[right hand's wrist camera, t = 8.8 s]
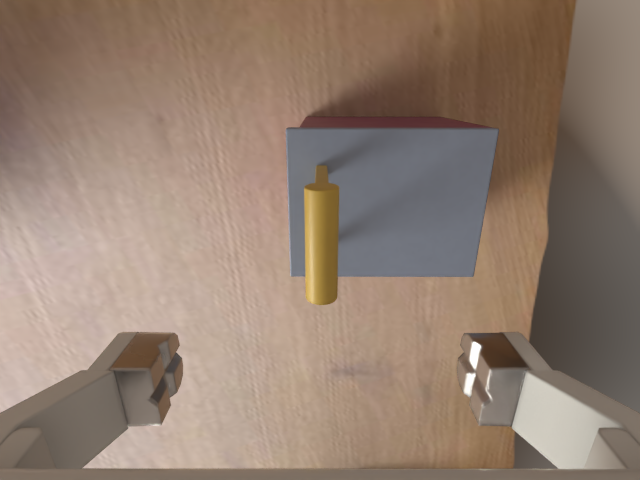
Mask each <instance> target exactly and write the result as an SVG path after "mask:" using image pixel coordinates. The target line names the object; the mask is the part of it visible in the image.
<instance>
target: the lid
mask: <svg viewBox="0 0 640 480" xmlns="http://www.w3.org/2000/svg"><path fill="white" fill-rule="evenodd" d="M498 133H499V129H497V128H325V127H288V128H287V129H286V151H287V182H288V213H289V244H290V275H291V276H305V277H306V299H307V300H308V301H309V302H310V303H313V304H317V305H327V304H330V303H333V302H334V301H335V300H336V299H337V283H338V276H344V277H473V276H474V271H475V265H476V259H477V253H478V248H479V242H480V236H481V230H482V225H483V219H484V213H485V207H486V202H487V196H488V190H489V184H490V179H491V173H492V167H493V161H494V156H495V150H496V144H497V138H498Z"/></svg>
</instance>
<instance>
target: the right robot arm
mask: <svg viewBox="0 0 640 480" xmlns="http://www.w3.org/2000/svg"><path fill="white" fill-rule="evenodd" d="M178 347H179V340H178V335H176V334H175V333H159V332H140V333H139V332H122V333H119V334H118V335H117V336H116V337H115V338H114V339H113V341H112V342H111V343H110V344H109V345H108V346H107V348H106V349H105V350H104V351H103V352H102V354H101V355H100V356H99V357H98V358H97V359H96V361H95V362H94V363H93V364H92V365H91V367H90V368H89V369H88V370H83V371H79V372H78V373H76V374H74V375H72V376H70V377H68V378H66V379H64V380H62V381H60V382H59V383H57V384H55V385H53V386H51V387H49V388H47V389H45V390H43V391H41V392H39V393H38V394H36V395H34V396H32V397H30V398H28V399H26V400H24V401H22V402H20V403H18V404H17V405H15V406H13V407H11V408H9V409H7V410H5V411H3V412H1V413H0V480H640V413H638V412H637V411H635V410H633V409H631V408H629V407H627V406H625V405H623V404H621V403H619V402H618V401H616V400H614V399H612V398H610V397H608V396H606V395H604V394H602V393H600V392H599V391H597V390H595V389H593V388H591V387H589V386H587V385H585V384H583V383H581V382H579V381H578V380H576V379H574V378H572V377H570V376H568V375H566V374H564V373H562V372H561V371H558V370H552V369H551V368H550V367H549V365H548V364H547V363H546V362H545V361H544V359H543V358H542V357H541V356H540V355H539V354H538V352H537V351H536V350H535V349H534V348H533V347H532V345H531V344H530V343H529V342H528V341H527V339H526V338H525V337H524V336H523V335H522V334H521V333H519V332H500V333H464V334H463V336H462V339H461V347H462V349H463V351H464V353H463V354H462V355H461V356H460V357H459V358H458V363H457V375H458V381H459V384H460V387H461V389H462V391H463V393H464V394H466V395H467V396H469V397H470V403H469V406H470V408H471V410H472V412H473V414H474V416H475V418H476V420H477V422H478V424H479V425H480V426H512V429H513V430H515V431H516V432H517V433H518V434H519V435H520V436H522V437H523V438H524V439H525V440H526V441H527V442H529V443H530V444H531V445H532V446H533V447H534V448H535V449H537V450H538V451H539V452H540V453H541V454H542V455H544V456H545V457H546V458H547V459H548V460H549V461H550V462H552V463H553V464H554V465H555V466H556V467H557V468H559V469H82V468H83V467H84V466H85V465H86V464H87V463H88V462H90V461H91V460H92V459H93V458H94V457H95V456H97V455H98V454H99V453H100V452H101V451H102V450H104V449H105V448H106V447H107V446H108V445H109V444H111V443H112V442H113V441H114V440H115V439H116V438H117V437H119V436H120V435H121V434H122V433H123V432H124V431H126V430H127V429H128V426H159V425H162V422H163V420H164V418H165V416H166V414H167V412H168V410H169V408H170V406H171V403H170V397H171V396H173V395H174V394H176V393H177V391H178V389H179V387H180V385H181V380H182V376H183V362H182V358H181V357H180V356H179V355H178V354H177V353H176V351H177V349H178Z"/></svg>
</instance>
